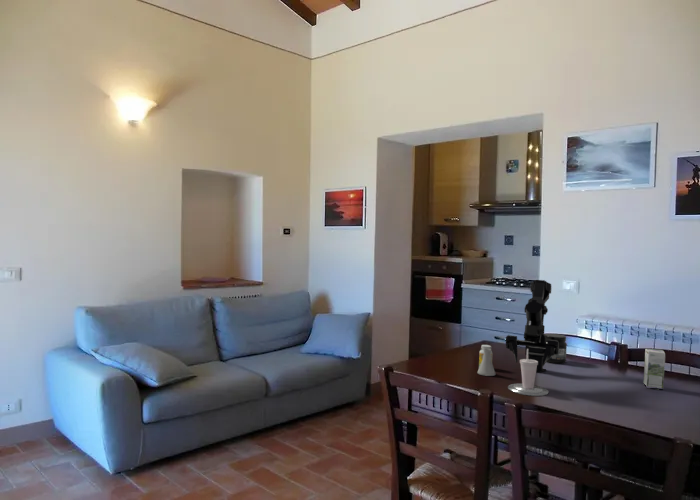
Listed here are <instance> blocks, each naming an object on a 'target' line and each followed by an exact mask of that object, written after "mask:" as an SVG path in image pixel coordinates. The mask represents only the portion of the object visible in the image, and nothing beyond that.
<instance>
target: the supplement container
mask: <svg viewBox="0 0 700 500" xmlns="http://www.w3.org/2000/svg"><path fill="white" fill-rule="evenodd" d="M544 336H545V340H546V343H547V339H548V340H557V341H558V342H559V349H558V354H557V355H555V354H554V356H551V357H550V358H549V359H548V360H547V362H546V363H550V364H557V365H558V364H559V365H560V364H562V365H563V364H565V363H566V361H567V347H568V343H567V342H566V341H567V336H565V335H563V334H560V333H559V334H558V333H544Z"/></svg>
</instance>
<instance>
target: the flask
mask: <svg viewBox="0 0 700 500" xmlns="http://www.w3.org/2000/svg"><path fill="white" fill-rule="evenodd" d="M483 351H484V356H483V360H482V362H481V365H480V367H479V366H478V370H477V372H476V373H477V374H478V375H480V376H486V377H493V376H494V377H495V376H496V371H495V367H494V365H493V360H492V361H491V351H492V349H491V350H490V349H483Z"/></svg>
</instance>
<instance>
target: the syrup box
mask: <svg viewBox="0 0 700 500" xmlns="http://www.w3.org/2000/svg"><path fill="white" fill-rule="evenodd" d="M665 364H666V353H665V351H664V350H663V349H655V348H654V349H652V348H645V351H644V365H643V366H644V368H643V383H644V384H645V385H646V386H649V387H657V388H663V389H664V381H665V380H664V379H665V367H666V365H665ZM644 384H643V385H644Z"/></svg>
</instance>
